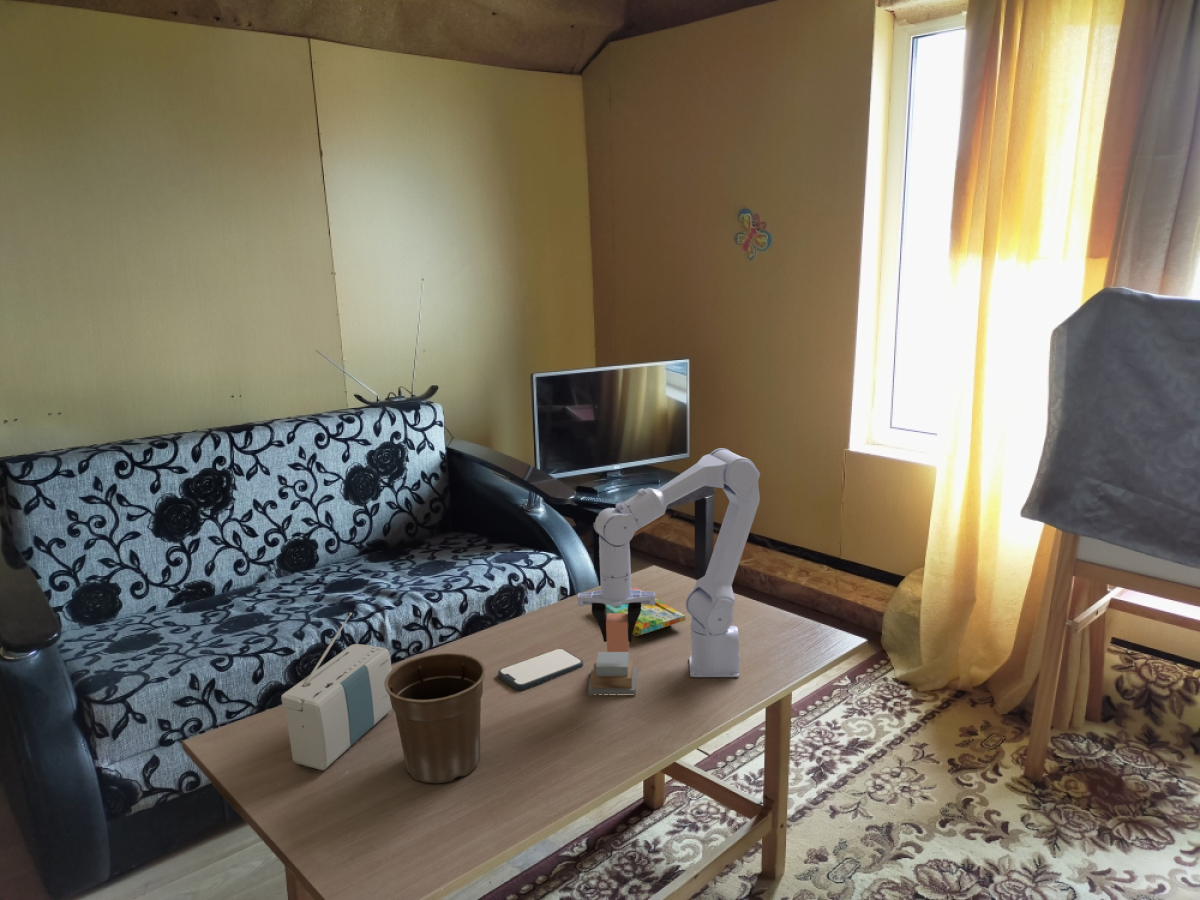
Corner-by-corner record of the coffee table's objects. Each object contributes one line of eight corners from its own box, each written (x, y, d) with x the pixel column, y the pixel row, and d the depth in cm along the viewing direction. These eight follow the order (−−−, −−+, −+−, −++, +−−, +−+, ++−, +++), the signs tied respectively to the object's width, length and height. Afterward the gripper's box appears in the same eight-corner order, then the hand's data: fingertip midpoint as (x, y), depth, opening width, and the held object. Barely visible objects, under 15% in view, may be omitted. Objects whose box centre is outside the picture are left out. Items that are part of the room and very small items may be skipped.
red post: (629, 642, 163) (628, 613, 161) (628, 651, 159) (627, 622, 157) (608, 642, 163) (607, 613, 161) (607, 651, 159) (606, 622, 158)
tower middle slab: (632, 668, 167) (632, 659, 167) (631, 687, 160) (631, 678, 160) (595, 668, 168) (594, 659, 167) (592, 687, 161) (591, 678, 160)
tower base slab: (637, 676, 168) (636, 667, 168) (635, 699, 160) (635, 690, 159) (592, 676, 169) (591, 666, 169) (588, 699, 160) (587, 689, 160)
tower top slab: (629, 661, 166) (628, 651, 166) (627, 676, 160) (627, 666, 160) (598, 661, 167) (598, 651, 166) (596, 676, 161) (595, 666, 160)
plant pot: (408, 735, 149) (399, 652, 146) (498, 734, 149) (492, 650, 145) (382, 793, 134) (371, 701, 130) (483, 792, 133) (475, 699, 129)
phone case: (561, 653, 179) (495, 677, 169) (561, 646, 178) (495, 670, 169) (586, 669, 172) (519, 694, 162) (585, 661, 171) (519, 686, 162)
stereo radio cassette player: (326, 777, 139) (312, 666, 134) (286, 768, 141) (270, 659, 137) (398, 711, 158) (387, 612, 153) (361, 704, 160) (350, 607, 156)
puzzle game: (634, 583, 201) (685, 612, 184) (635, 601, 202) (685, 631, 186) (592, 595, 195) (640, 625, 179) (593, 614, 197) (641, 646, 180)
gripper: (574, 581, 154) (578, 649, 157) (654, 580, 153) (656, 648, 156) (578, 566, 161) (581, 632, 164) (654, 565, 160) (656, 631, 163)
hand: (617, 639), depth 161 cm, fingers closed on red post, 4 cm apart
